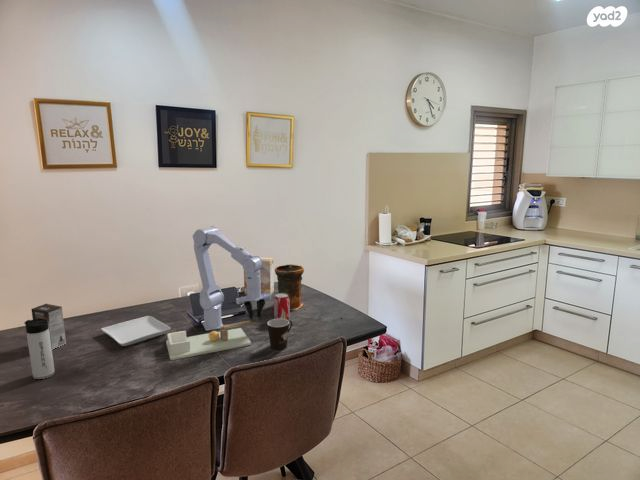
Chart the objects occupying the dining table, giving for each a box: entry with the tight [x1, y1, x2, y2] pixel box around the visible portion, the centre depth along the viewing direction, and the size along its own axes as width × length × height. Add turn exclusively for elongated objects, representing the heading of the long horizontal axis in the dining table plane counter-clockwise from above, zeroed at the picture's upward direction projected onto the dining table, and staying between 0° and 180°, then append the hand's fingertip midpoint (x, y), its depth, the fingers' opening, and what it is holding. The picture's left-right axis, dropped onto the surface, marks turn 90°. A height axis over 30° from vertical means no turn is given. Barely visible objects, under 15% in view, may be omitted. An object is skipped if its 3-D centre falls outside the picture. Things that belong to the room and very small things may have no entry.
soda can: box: [273, 293, 291, 321], centre depth 190 cm, size 7×7×12 cm
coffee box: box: [31, 303, 67, 351], centre depth 163 cm, size 9×6×16 cm
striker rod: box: [219, 308, 259, 341], centre depth 171 cm, size 5×16×10 cm, turn 115°
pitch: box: [165, 327, 252, 361], centre depth 166 cm, size 16×30×1 cm, turn 115°
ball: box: [209, 330, 219, 341], centre depth 167 cm, size 4×4×4 cm
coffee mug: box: [266, 318, 293, 351], centre depth 164 cm, size 12×9×10 cm
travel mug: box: [24, 318, 55, 380], centre depth 140 cm, size 6×7×20 cm
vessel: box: [274, 263, 305, 311], centre depth 207 cm, size 14×14×20 cm
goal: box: [166, 330, 190, 355], centre depth 161 cm, size 11×7×4 cm, turn 25°
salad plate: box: [100, 315, 172, 347], centre depth 175 cm, size 21×21×3 cm
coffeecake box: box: [243, 257, 275, 295], centre depth 227 cm, size 15×7×20 cm, turn 81°
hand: (254, 317), depth 173 cm, fingers closed on striker rod, 3 cm apart
